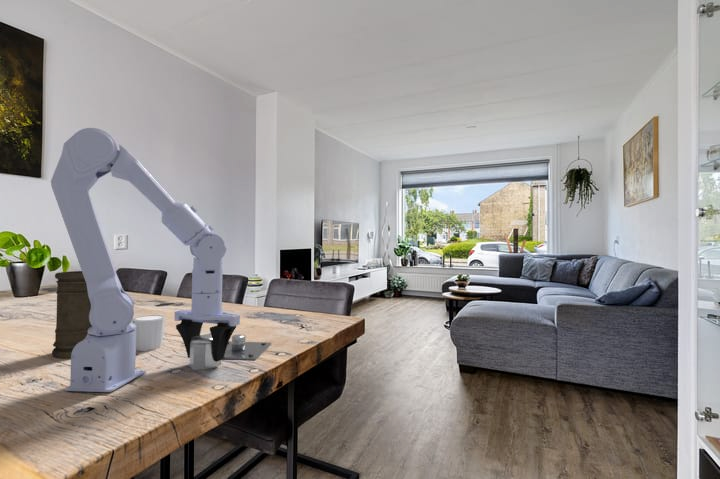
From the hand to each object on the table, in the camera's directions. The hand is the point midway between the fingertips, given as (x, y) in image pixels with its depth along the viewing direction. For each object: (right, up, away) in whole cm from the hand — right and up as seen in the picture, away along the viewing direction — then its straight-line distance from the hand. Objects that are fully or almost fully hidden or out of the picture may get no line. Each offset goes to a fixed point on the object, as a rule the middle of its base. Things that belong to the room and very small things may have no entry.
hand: (205, 358), depth 73 cm
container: (-32, -1, +7) cm, 33 cm away
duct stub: (+3, -2, +10) cm, 10 cm away
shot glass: (-19, -2, +12) cm, 22 cm away
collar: (0, -1, 0) cm, 1 cm away
